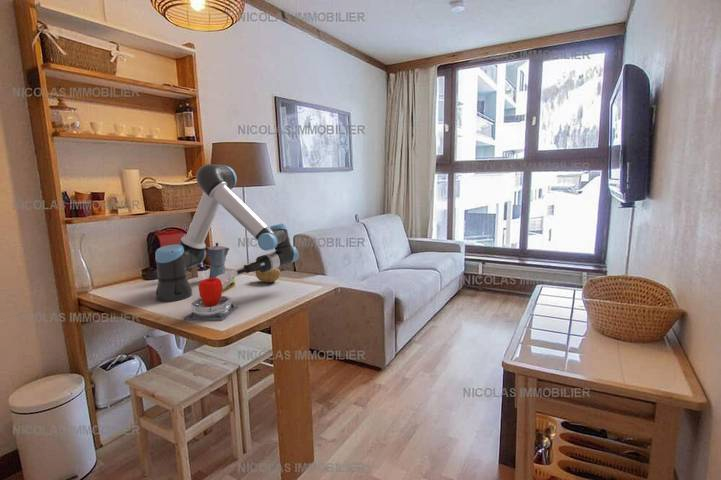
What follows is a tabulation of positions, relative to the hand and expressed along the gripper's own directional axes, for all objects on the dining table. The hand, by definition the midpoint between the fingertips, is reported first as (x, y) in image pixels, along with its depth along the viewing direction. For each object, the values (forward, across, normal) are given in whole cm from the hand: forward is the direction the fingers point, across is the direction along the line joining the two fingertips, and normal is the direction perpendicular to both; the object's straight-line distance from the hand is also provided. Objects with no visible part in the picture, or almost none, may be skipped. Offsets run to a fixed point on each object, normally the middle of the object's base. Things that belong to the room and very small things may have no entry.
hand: (223, 277), depth 156 cm
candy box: (-8, +24, -7) cm, 27 cm away
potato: (-30, +23, -10) cm, 40 cm away
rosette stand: (+9, -2, -12) cm, 15 cm away
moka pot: (-15, +48, -1) cm, 50 cm away
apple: (+9, -2, -9) cm, 13 cm away
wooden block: (-5, +62, +5) cm, 62 cm away
